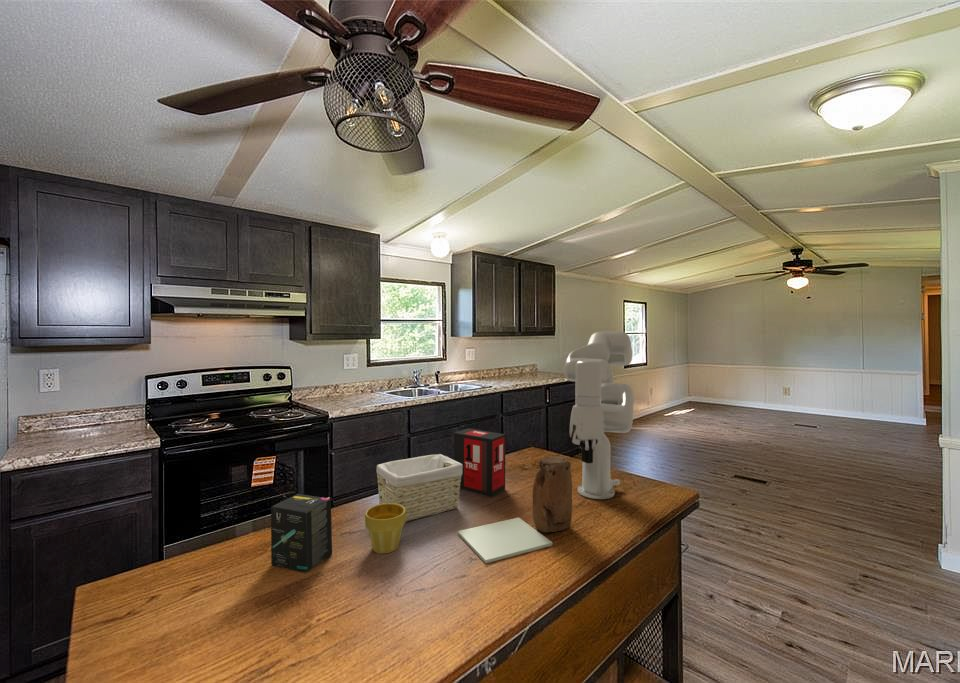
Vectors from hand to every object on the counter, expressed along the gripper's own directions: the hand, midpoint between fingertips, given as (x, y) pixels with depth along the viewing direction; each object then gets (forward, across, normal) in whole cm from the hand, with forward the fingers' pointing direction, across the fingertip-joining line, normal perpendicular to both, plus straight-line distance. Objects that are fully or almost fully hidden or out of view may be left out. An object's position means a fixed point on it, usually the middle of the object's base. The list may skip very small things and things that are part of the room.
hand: (587, 462), depth 129 cm
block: (+18, +12, 0) cm, 22 cm away
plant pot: (+18, +58, -10) cm, 62 cm away
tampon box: (+19, +78, -14) cm, 82 cm away
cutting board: (+18, +28, 0) cm, 34 cm away
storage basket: (+18, +43, -30) cm, 55 cm away
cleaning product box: (+18, +18, -38) cm, 45 cm away
